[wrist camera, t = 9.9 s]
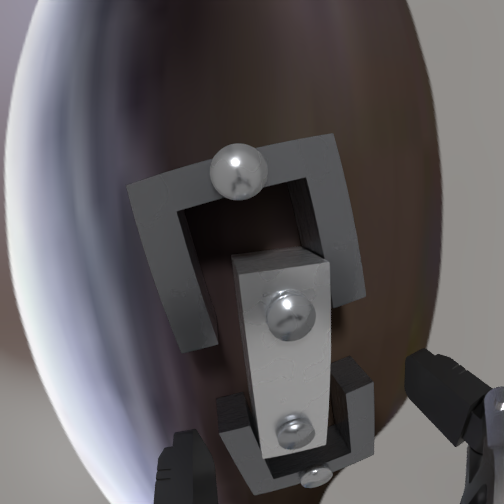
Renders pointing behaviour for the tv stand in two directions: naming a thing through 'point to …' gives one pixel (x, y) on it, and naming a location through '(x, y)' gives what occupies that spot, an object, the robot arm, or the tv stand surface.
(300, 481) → the end link
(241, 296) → the bolted link plate
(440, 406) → the robot arm
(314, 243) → the end link
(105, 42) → the tv stand surface
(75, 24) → the tv stand surface
